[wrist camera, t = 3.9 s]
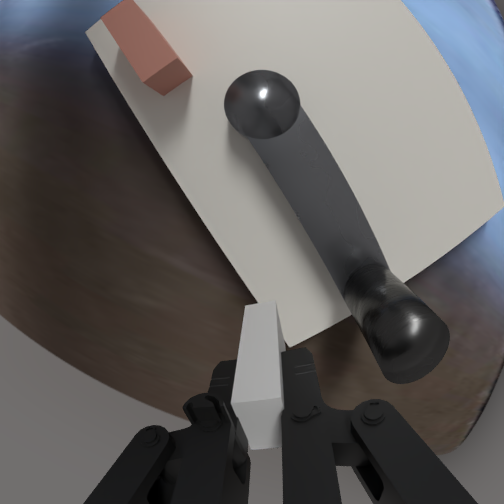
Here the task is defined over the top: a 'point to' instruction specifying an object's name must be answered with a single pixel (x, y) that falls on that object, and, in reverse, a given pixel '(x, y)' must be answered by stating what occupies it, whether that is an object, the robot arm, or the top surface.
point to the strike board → (325, 121)
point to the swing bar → (336, 226)
